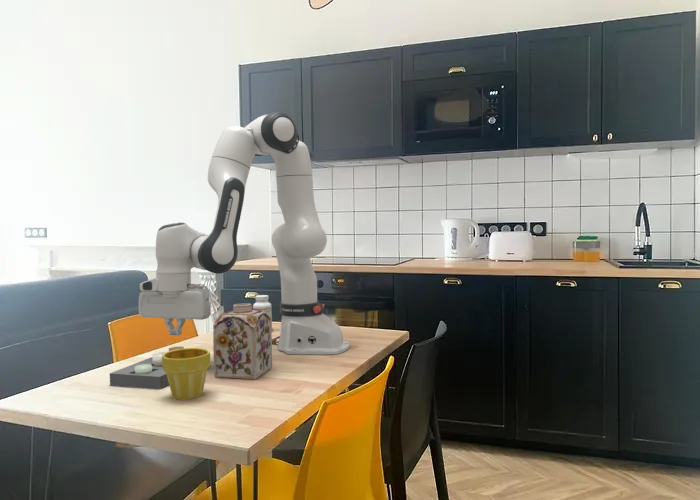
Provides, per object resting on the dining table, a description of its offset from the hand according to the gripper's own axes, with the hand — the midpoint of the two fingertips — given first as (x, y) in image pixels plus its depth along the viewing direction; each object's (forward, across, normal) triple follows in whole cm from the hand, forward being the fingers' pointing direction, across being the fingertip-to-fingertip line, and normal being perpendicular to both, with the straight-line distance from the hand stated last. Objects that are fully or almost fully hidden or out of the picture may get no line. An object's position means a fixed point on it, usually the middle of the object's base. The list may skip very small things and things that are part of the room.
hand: (175, 334), depth 146 cm
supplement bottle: (+9, -1, -52) cm, 53 cm away
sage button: (+8, 0, +14) cm, 16 cm away
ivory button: (+7, 0, +7) cm, 10 cm away
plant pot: (+9, -16, +20) cm, 27 cm away
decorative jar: (+9, -20, 0) cm, 22 cm away
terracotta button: (+7, 0, 0) cm, 7 cm away
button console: (+9, 0, +7) cm, 11 cm away
